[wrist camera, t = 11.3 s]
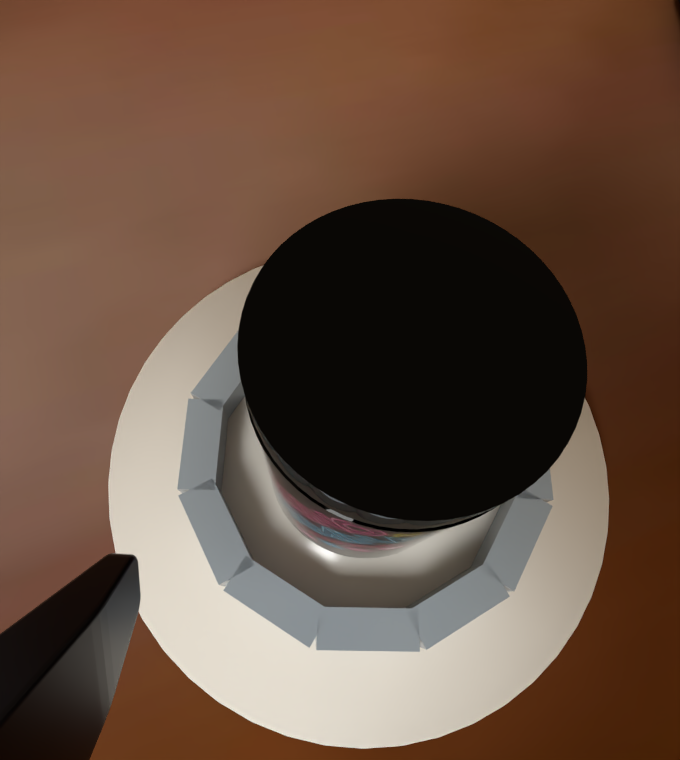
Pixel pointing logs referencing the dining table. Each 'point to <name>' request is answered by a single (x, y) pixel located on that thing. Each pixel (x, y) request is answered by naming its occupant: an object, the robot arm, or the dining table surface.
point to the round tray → (334, 567)
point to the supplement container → (406, 372)
